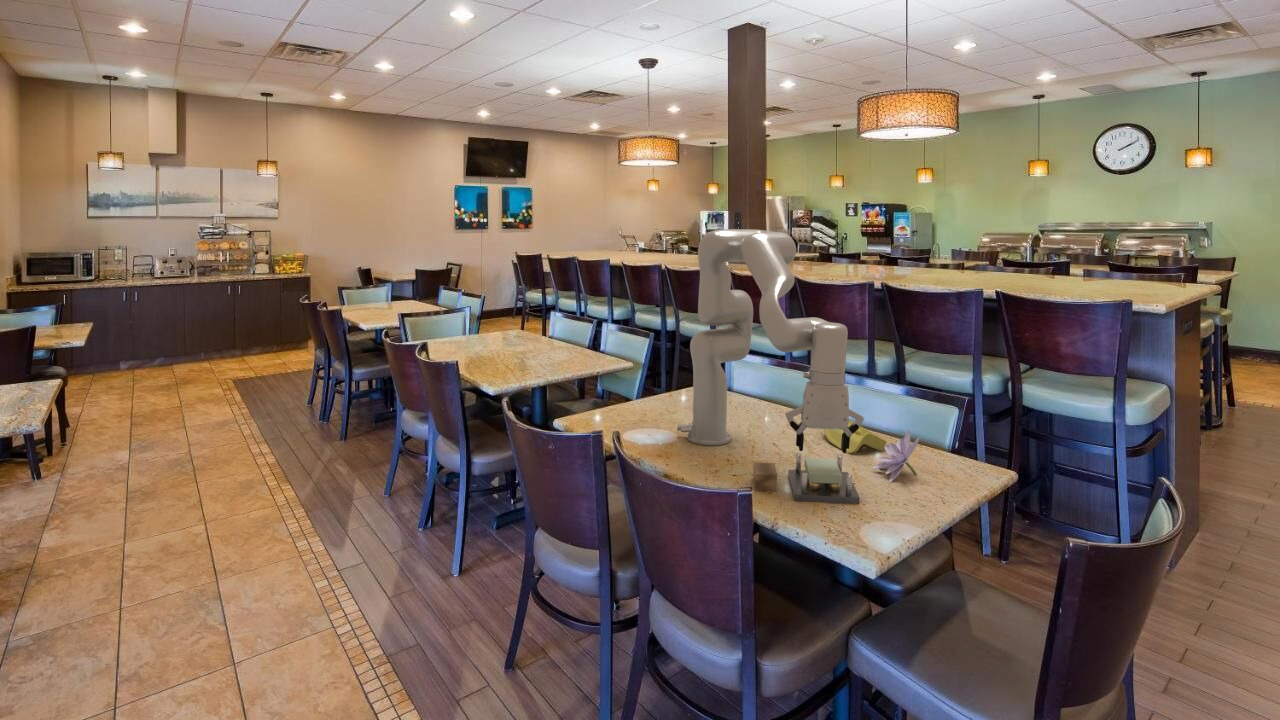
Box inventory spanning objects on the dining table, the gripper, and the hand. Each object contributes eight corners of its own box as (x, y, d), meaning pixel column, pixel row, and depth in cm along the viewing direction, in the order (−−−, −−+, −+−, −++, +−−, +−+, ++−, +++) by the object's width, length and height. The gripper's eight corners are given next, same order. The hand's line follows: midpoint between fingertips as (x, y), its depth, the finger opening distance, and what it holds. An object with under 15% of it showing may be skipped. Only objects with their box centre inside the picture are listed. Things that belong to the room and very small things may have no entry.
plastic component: (890, 443, 185) (864, 431, 181) (878, 467, 185) (851, 455, 182) (848, 419, 203) (823, 407, 199) (836, 441, 204) (811, 429, 200)
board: (809, 482, 153) (809, 473, 152) (804, 465, 163) (804, 457, 163) (841, 483, 152) (842, 475, 151) (834, 467, 163) (834, 459, 162)
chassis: (794, 500, 151) (795, 475, 150) (788, 475, 167) (789, 451, 166) (859, 503, 150) (860, 477, 148) (847, 478, 165) (848, 454, 164)
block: (754, 490, 157) (755, 474, 157) (753, 478, 165) (753, 462, 164) (776, 491, 157) (777, 475, 156) (774, 479, 164) (774, 463, 164)
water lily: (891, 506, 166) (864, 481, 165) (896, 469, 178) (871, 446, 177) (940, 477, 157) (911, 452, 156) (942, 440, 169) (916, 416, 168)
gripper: (789, 380, 151) (784, 453, 154) (870, 383, 149) (863, 458, 152) (786, 372, 158) (782, 443, 162) (863, 375, 156) (857, 447, 160)
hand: (822, 450), depth 157 cm, fingers open, 9 cm apart
